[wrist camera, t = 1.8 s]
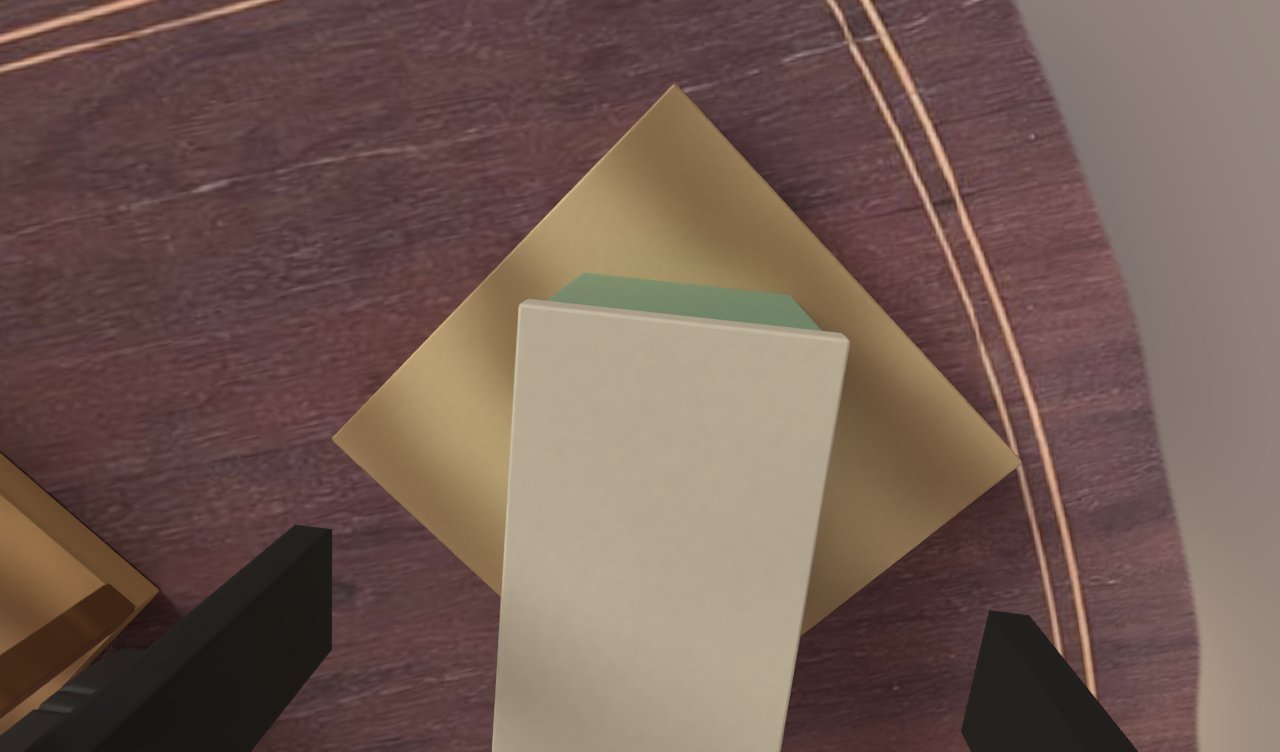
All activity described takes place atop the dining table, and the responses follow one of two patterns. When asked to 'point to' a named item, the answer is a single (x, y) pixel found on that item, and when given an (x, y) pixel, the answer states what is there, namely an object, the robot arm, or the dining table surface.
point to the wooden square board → (700, 255)
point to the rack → (54, 595)
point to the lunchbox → (660, 516)
